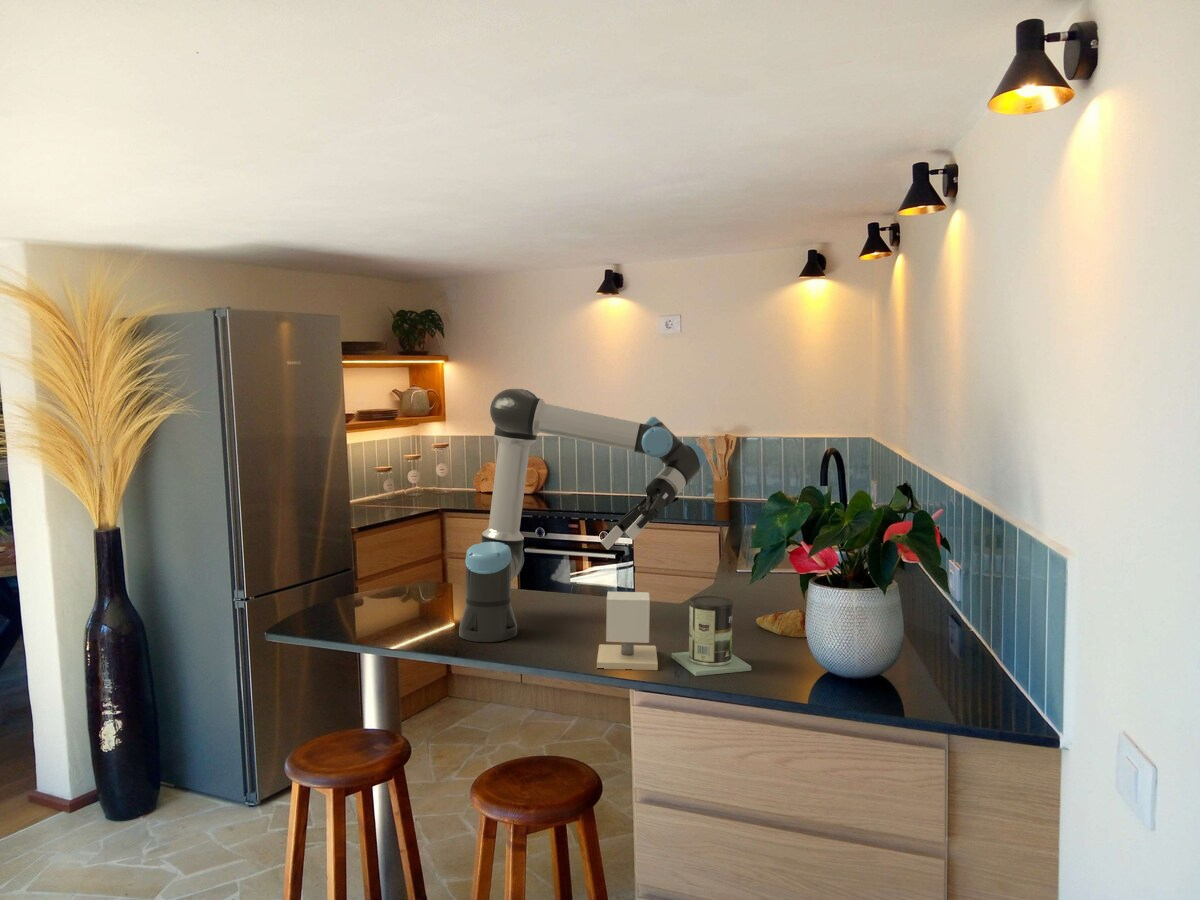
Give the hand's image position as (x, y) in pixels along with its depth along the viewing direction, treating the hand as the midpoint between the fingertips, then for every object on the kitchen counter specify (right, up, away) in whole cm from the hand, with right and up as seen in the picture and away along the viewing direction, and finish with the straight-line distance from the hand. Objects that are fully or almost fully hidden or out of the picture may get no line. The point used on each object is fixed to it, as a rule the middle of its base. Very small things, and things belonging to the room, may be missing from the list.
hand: (616, 541), depth 207 cm
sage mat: (+22, -28, -12) cm, 37 cm away
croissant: (+48, -27, +15) cm, 57 cm away
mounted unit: (+2, -27, -10) cm, 29 cm away
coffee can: (+22, -27, -12) cm, 36 cm away
